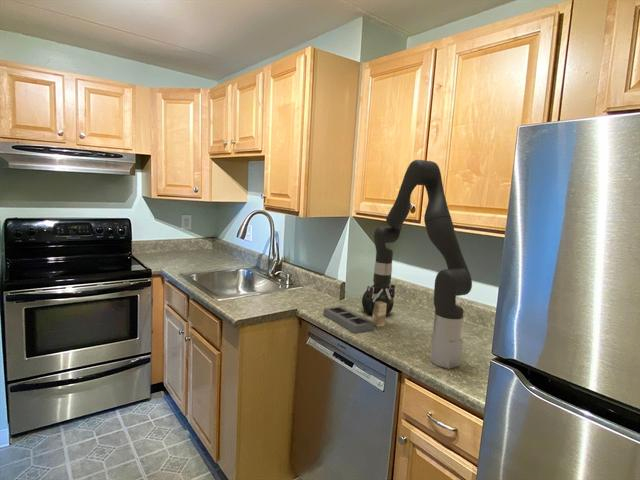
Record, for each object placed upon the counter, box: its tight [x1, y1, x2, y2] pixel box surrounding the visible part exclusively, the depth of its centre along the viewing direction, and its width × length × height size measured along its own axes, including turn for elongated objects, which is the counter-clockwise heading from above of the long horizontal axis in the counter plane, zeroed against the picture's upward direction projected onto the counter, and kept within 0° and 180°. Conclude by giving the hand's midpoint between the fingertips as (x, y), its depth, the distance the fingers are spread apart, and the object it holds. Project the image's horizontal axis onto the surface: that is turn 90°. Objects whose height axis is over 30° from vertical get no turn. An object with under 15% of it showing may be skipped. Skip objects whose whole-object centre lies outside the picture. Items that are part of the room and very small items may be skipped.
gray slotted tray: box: [322, 306, 375, 334], centre depth 165 cm, size 24×10×3 cm, turn 32°
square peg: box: [371, 301, 387, 328], centre depth 164 cm, size 4×4×10 cm
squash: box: [361, 284, 395, 315], centre depth 180 cm, size 14×15×15 cm
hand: (379, 308), depth 164 cm, fingers open, 8 cm apart
